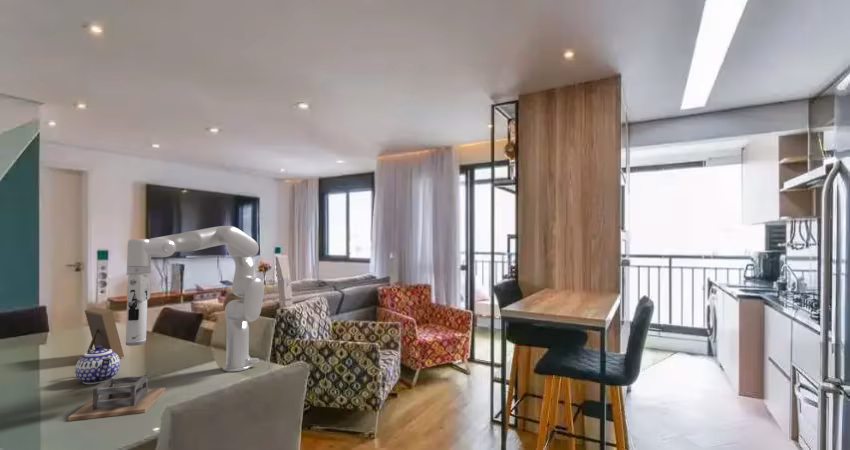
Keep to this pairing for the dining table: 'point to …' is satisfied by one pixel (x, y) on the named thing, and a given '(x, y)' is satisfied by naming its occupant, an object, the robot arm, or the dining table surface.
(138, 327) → the travel mug
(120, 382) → the collar stand
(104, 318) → the photo frame
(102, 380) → the teapot
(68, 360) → the dining table surface
